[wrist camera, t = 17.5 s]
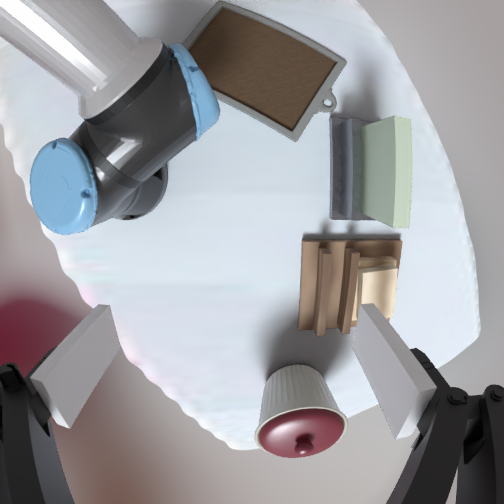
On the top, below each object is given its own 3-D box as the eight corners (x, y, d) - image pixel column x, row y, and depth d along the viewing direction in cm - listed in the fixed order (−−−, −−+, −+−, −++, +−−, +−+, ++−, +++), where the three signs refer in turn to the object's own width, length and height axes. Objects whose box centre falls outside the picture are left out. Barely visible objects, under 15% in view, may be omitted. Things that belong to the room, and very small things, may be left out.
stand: (329, 218, 49) (341, 226, 42) (329, 118, 44) (342, 110, 36) (378, 218, 49) (397, 227, 41) (379, 124, 43) (398, 118, 36)
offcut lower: (347, 314, 53) (350, 320, 50) (354, 257, 49) (358, 261, 47) (382, 311, 53) (386, 317, 50) (391, 256, 49) (396, 260, 47)
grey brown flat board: (218, 0, 35) (359, 70, 40) (219, 3, 37) (356, 72, 41) (161, 73, 40) (309, 150, 44) (164, 76, 42) (308, 150, 46)
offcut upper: (355, 316, 50) (359, 323, 48) (358, 268, 47) (362, 273, 45) (387, 311, 50) (392, 317, 47) (391, 263, 47) (397, 268, 45)
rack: (297, 326, 55) (301, 341, 50) (301, 239, 50) (307, 248, 45) (386, 319, 55) (396, 332, 50) (398, 239, 50) (412, 246, 44)
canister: (258, 350, 57) (259, 427, 37) (339, 351, 57) (367, 421, 37) (251, 405, 62) (250, 474, 42) (321, 405, 62) (337, 470, 42)
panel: (351, 208, 47) (392, 227, 31) (352, 130, 43) (394, 115, 27) (364, 209, 47) (408, 228, 31) (365, 131, 43) (410, 118, 27)
